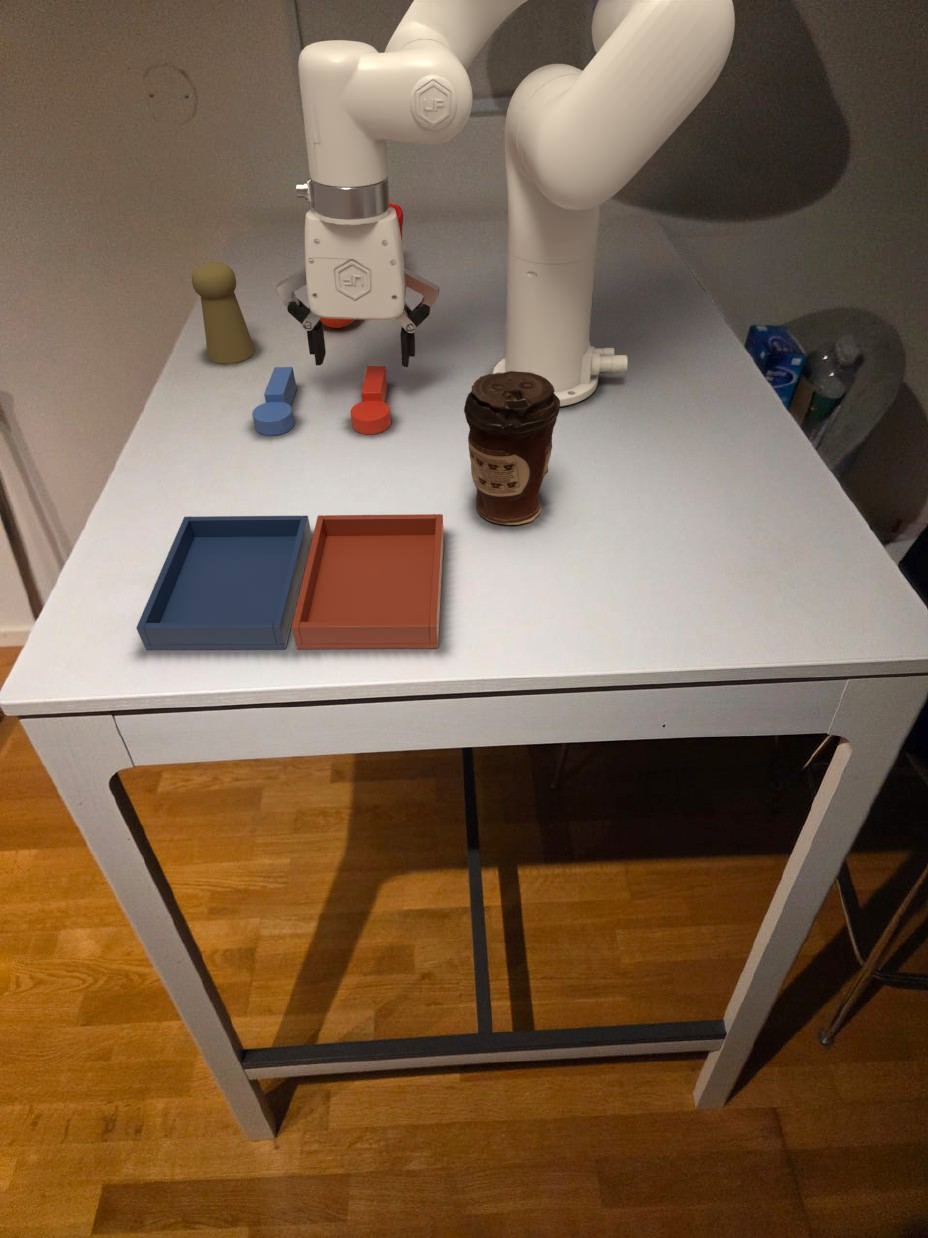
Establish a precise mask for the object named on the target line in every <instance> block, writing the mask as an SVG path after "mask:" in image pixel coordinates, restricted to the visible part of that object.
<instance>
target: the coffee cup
mask: <svg viewBox="0 0 928 1238" xmlns="http://www.w3.org/2000/svg"><path fill="white" fill-rule="evenodd" d="M554 392H555V389H554V387H553V385H552V384H551V383H550V382H549V381H548V380H547V379H546V378H544V377H542V376H540V375H537V374H534V373H530V372H516V371H509V372H505V373H495V374H492V373H487V374H484V375H481V376H479V377H478V378H477V379H475V381H474V383H473V385H472V386H471V390H470V392H469V393H468V394H467V396H466V399H465V403H464V408H463V413H464V415H465V420H466V423H467V425H468V428H469V431H468V436H467V443H468V453H469V455H468V456H469V459H470V473H471V478H472V482H473V485H474V487H475V488H476V504H475V507H476V510H477V513H478V514H479V515H480V516H481V517H482V518H484V519H486V520H487V521H489V522H492V523H495V524H499V525H506V526H510V525H516V526H517V525H519V526H520V525H522V524H526V523H531V522H533V521H534V520H535V519H536V518H537V517H538V516H539V515H540V513H541V511H542V501H541V500H540V498H539V494H540V493H539V492H540V489H541V487H542V483H543V481H544V477H545V476H546V475H547V474H548V472H549V470H550V469H549V463H550V459H551V456H552V449H553V434H554V428H555V425H556V423H557V419H558V415H559V412H560V407H561V406H560V400H559V398H558V397H557V396H556V395H555V394H554Z"/></svg>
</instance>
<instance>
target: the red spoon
mask: <svg viewBox="0 0 928 1238" xmlns="http://www.w3.org/2000/svg"><path fill="white" fill-rule="evenodd" d="M387 377H388V376H387V367H386V365H367V366H366V370H365V374H364V379H363V383H362V388H361V392H360V394H361V401H360V402H357V403H356V404H354V405H353V406H352V407H351V408H350V419H351V426H352V429H353V430H354V431H355V432H357V433H358V434H363V435H376V434H380V433H383V432H385V431H387V430H389V428H390V427H391V425H392V416H391V408H390V405H389V404H388V403H386V400H387V399H386V398H387V392H388V387H389V386H388V378H387Z"/></svg>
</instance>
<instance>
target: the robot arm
mask: <svg viewBox="0 0 928 1238" xmlns="http://www.w3.org/2000/svg"><path fill="white" fill-rule="evenodd" d="M526 2H528V0H413V1H412V2H411V4H410V6H409V7H408V9H407V11H405V14H404V15H403V17H402V19H401V20H400V22H399V23H398V25H397V27H396V29H395V30H394V32H393V34H392V35H391V38H390V39H389V41H388V43H387V45H386V47H385V50H384V52H378V50H377V49H376V48H375V47H374V46H372V45H371V44H368V43H366V42H363V41H356V40H345V39H336V40H334V39H333V40H332V39H331V40H323V41H317V42H313V43H310V44H308V45H306V46H305V47H304V48H303V49H302V50H301V52H300V53H299V56H298V64H297V67H298V81H299V90H300V98H301V108H302V117H303V124H304V135H305V136H304V137H305V146H306V152H307V153H306V154H307V161H308V162H307V163H308V171H309V178H308V179H307V181H306V180H305V181H303V182H296V184H295V185H296V186H295V190H296V192H295V193H296V196H297V199H304V200H306V201H307V200H308V203H309V204H310V205H311V207H310V208H309V209H308V211H307V212H306V213H305V217H304V218H305V219H304V266H305V267H304V268H302V269H300V270H299V271H297V272H295V273H293V274H291V275H290V276H288V277H286V278H283V279H282V280H280V281H279V282H278V283H277V285H276V287H275V293H276V294H277V296H278V298H279V299H280V301H281V302H282V303H283V305H284V306H285V307H286V309H287V312H288V313H289V315H291V316H292V317H293V318H294V319H295V320H296V321H298V323H300V324H301V326H302V329H303V330H305V331H306V336H307V337H306V338H307V344H308V350H309V355H314V361H315V366H322V365H323V364H324V361H325V359H326V358H325V357H326V353H327V350H326V342H325V333H324V324H323V323H322V322H321V317H322V318H333V319H355V320H375V321H377V320H394V319H395V320H396V321H397V323H398V324H399V325H400V327H401V328H400V337H399V339H400V357H401V359H400V360H401V361H400V362H401V366H402V367H403V368H409V364H410V358H411V357H412V358H413V357H415V356H416V332H415V331H416V329H417V328H418V327H419V326H420V325H421V324H422V323H423V322H424V321H425V320H426V319H427V318H428V317H429V316H430V315H431V314H430V313H431V311H432V309H433V308H434V306H435V304H436V303H437V300H438V298H439V296H440V286H439V285H437V284H436V283H434V282H432V281H430V280H429V279H426V278H424V277H423V276H421V275H419V274H417V273H415V272H413V271H411V270H410V269H408V268H406V265H405V254H404V246H403V238H402V239H401V233H400V227H399V223H398V218H397V214H396V211H395V209H394V208H393V207H390V206H389V203H390V190H389V188H390V186H389V172H388V171H389V170H388V168H389V167H388V150H387V140H388V141H395V142H402V143H408V144H414V145H421V146H434V145H440V144H441V145H442V144H444V143H447V142H449V141H451V140H452V139H454V138H455V137H457V136H458V135H459V134H460V133H461V131H462V130H463V129H464V128H465V126H466V125H467V123H468V121H469V119H470V116H471V113H472V108H473V99H474V97H473V87H472V84H471V79H470V77H469V75H468V72H467V71H468V69H469V68H470V66H471V65H472V63H473V61H474V60H475V59H476V57H477V56H478V54H479V53H480V51H481V50H482V48H484V46H485V45H486V43H487V41H488V40H489V39H490V38H491V37H492V35H493V34H494V33H495V31H496V30H497V29H498V28H499V27H500V25H502V23H503V22H504V21H505V20H506V19H507V18H508V17H509V16H510V15H511V14H512V13H513V12H514V11H516V10H517V9H518V8H519V7H520V6H522V5H523V4H524V3H526ZM735 26H736V17H735V6H734V2H733V0H597V3H596V5H595V8H594V11H593V15H592V20H591V40H592V44H593V49H594V52H595V53H596V54H595V55H594V56H593V57H592V59H591V60H590V61H589V63H588V64H587V65H586V66H585V67H584V69H583V70H581V69H580V68H577V67H575V66H574V65H571V64H567V63H550V64H546V65H542V66H540V67H538V68H536V69H534V70H533V71H532V72H530V73H528V74H527V76H526V77H524V78H523V80H521V82H520V83H519V84H518V86H517V87H516V88H515V91H514V92H513V94H512V96H511V99H510V101H509V104H508V106H507V111H506V116H505V121H504V131H503V132H504V133H503V134H504V137H503V138H504V139H503V141H504V161H505V177H506V192H507V194H506V195H507V247H506V297H505V298H506V301H505V302H506V306H505V311H506V312H505V357H504V358H502V359H501V360H500V361H499V362H498V363H496V365H495V366H494V368H493V369H492V373H491V374H495V373H505V372H509V371H516V372H530V373H534V374H537V375H540V376H542V377H544V378H546V379H547V380H548V381H549V382H550V383H551V384H552V385H553V387H554V389H555V392H554V394H555V395H556V396H557V397H558V398H559V400H560V407H565V406H570V405H573V404H574V405H575V404H577V403H579V402H582V401H583V400H585V399H587V398H589V397H590V396H592V394H593V393H595V391H596V389H597V388H598V382H599V375H600V373H606V372H607V373H627V370H628V362H629V361H628V355H627V354H615V348H614V347H603V348H595V346H594V345H591V342H590V337H589V336H590V327H591V317H592V316H591V315H592V305H593V294H594V283H595V271H596V262H597V250H598V246H599V245H598V244H599V231H600V215H601V214H600V212H601V204H604V203H606V201H608V200H609V199H611V198H613V197H614V196H615V195H617V193H618V192H619V191H621V190H622V189H623V188H624V187H625V186H626V185H627V184H628V183H629V182H630V181H631V180H632V179H633V178H634V177H635V176H636V175H637V173H639V171H640V170H641V169H642V168H643V167H644V166H645V164H647V162H648V161H649V160H650V159H651V158H652V157H653V156H654V155H655V154H656V153H657V151H659V149H660V148H661V147H662V146H663V144H664V143H665V142H666V141H667V140H668V139H669V138H670V137H671V136H672V135H673V133H674V132H675V131H676V130H677V129H678V128H679V127H680V126H681V124H682V123H683V122H685V120H686V119H687V118H688V117H689V116H690V114H691V113H692V112H693V111H694V110H695V109H696V107H697V106H698V105H699V104H700V103H701V101H703V99H704V98H705V97H706V96H707V94H708V93H709V92H710V90H711V89H712V88H713V86H714V84H715V83H716V81H717V80H718V78H719V76H720V74H721V72H722V70H723V69H724V67H725V65H726V62H727V61H728V57H729V55H730V52H731V49H732V45H733V41H734V36H735V30H736V29H735V28H736V27H735ZM303 287H306V293H307V294H306V295H307V303H308V306H307V305H306V304H305V303H303V302H302V301H301V300H300V299H299V298H297V296H296V294H295V291H297V290H300V289H301V288H303ZM407 288H409V289H410V290H412V291H415V292H416V293H418V294H420V295H421V296H422V299H421V301H420V302H419V303H418V304H417V305H416V306H415V307H414V308H413V309H412V307H411V306H410V305H409V304H408V303H407V301H406V295H407Z"/></svg>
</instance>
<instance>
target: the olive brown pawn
mask: <svg viewBox="0 0 928 1238" xmlns="http://www.w3.org/2000/svg"><path fill="white" fill-rule="evenodd" d="M191 284H192V287H193V289H194V291H195V293H196V294H197V295H199V297H200V302H201V303H200V304H201V311H202V319H203V327H204V335H205V342H206V350H207V358H208V359H209V360H210V361H211V362H213V363H216V364H235V363H240V362H243V361H245V360H248V359H249V358H251V357H252V356H253V355H254V354H255V352H256V348H255V346H254V342H253V340H252V337H251V333H250V331H249V329H248V326H247V323H246V320H245V317H244V315H243V312H242V309H241V307H240V304H239V301H238V299H237V296H236V292H235V290H236V288H237V279H236V274H235V271H234V270H233V268H232V267H231V266H230V265H228V264H227V263H224V262H220V261H209V262H205V263H202V264H199V265H197V266H196V267H195V268H193V270H192V273H191Z"/></svg>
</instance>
